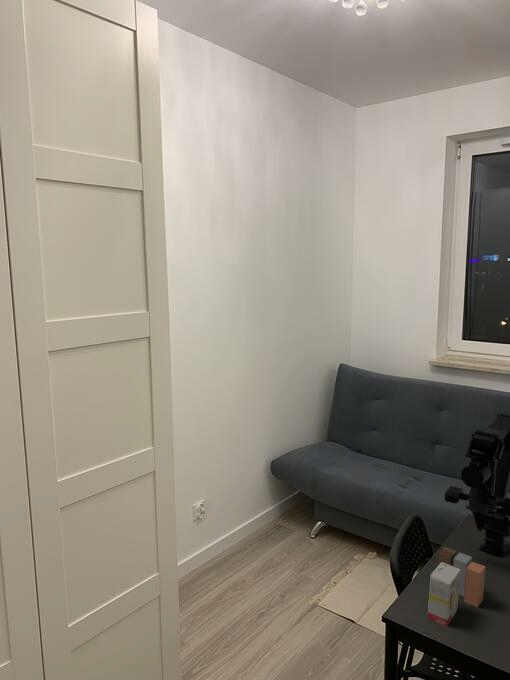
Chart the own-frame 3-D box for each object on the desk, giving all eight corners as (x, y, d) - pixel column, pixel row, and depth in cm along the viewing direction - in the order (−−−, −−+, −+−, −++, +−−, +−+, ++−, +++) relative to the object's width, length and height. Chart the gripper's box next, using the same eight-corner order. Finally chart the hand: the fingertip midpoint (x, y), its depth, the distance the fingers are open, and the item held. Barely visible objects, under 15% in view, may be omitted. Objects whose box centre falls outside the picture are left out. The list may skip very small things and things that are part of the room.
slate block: (457, 584, 136) (459, 552, 135) (469, 589, 134) (471, 557, 132) (451, 591, 133) (453, 558, 132) (464, 596, 131) (466, 563, 129)
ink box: (447, 631, 119) (450, 584, 118) (426, 622, 122) (428, 576, 121) (458, 613, 126) (461, 568, 125) (438, 605, 129) (441, 560, 128)
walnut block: (442, 578, 138) (444, 547, 137) (454, 583, 136) (456, 551, 135) (436, 585, 135) (438, 552, 134) (448, 590, 133) (450, 557, 132)
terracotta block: (469, 594, 131) (472, 561, 130) (482, 599, 129) (485, 566, 128) (464, 601, 128) (466, 568, 127) (477, 607, 126) (480, 573, 125)
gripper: (441, 478, 139) (438, 533, 141) (519, 495, 129) (514, 553, 131) (450, 466, 148) (447, 517, 150) (523, 480, 139) (518, 535, 141)
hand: (479, 530), depth 143 cm, fingers closed
